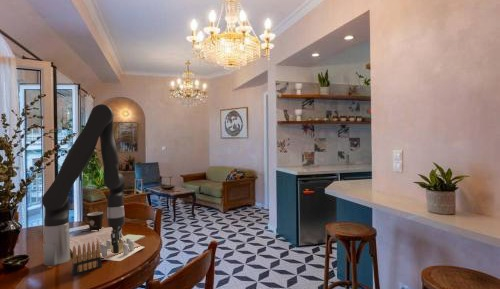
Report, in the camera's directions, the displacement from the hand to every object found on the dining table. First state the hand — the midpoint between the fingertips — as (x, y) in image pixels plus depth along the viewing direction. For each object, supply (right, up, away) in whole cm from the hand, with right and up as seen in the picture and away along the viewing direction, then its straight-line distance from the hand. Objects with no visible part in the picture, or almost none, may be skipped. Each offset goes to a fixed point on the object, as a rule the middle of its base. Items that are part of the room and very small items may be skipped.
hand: (117, 250), depth 147 cm
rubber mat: (-1, -1, +19) cm, 19 cm away
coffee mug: (-31, -1, +40) cm, 50 cm away
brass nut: (0, 0, 0) cm, 0 cm away
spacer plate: (0, -1, 0) cm, 1 cm away
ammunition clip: (-4, -2, -20) cm, 20 cm away
